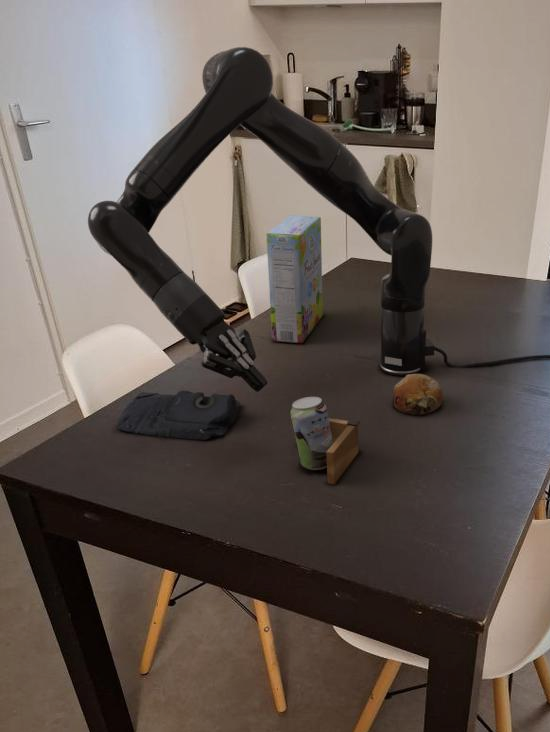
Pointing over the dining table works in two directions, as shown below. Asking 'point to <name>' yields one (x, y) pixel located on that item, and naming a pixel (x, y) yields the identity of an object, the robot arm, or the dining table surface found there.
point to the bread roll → (417, 394)
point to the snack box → (295, 277)
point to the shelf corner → (341, 447)
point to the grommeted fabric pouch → (179, 415)
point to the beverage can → (311, 432)
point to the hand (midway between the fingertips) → (262, 387)
